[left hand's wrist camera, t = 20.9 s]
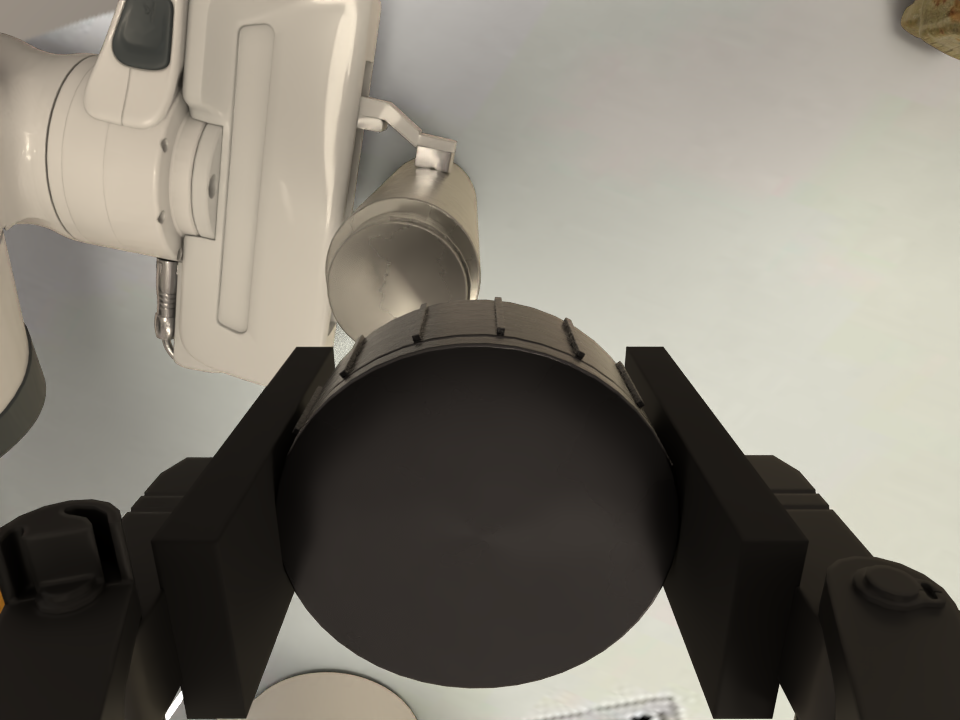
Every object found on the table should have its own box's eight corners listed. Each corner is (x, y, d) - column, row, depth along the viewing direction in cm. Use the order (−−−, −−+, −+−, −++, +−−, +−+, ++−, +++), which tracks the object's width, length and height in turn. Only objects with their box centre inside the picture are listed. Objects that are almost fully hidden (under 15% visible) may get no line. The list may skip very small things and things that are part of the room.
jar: (473, 251, 41) (475, 375, 23) (384, 245, 41) (313, 364, 22) (480, 159, 39) (488, 212, 21) (386, 152, 39) (310, 199, 20)
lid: (277, 313, 11) (231, 361, 9) (648, 281, 11) (687, 323, 9) (337, 609, 13) (310, 702, 11) (647, 586, 13) (679, 677, 11)
